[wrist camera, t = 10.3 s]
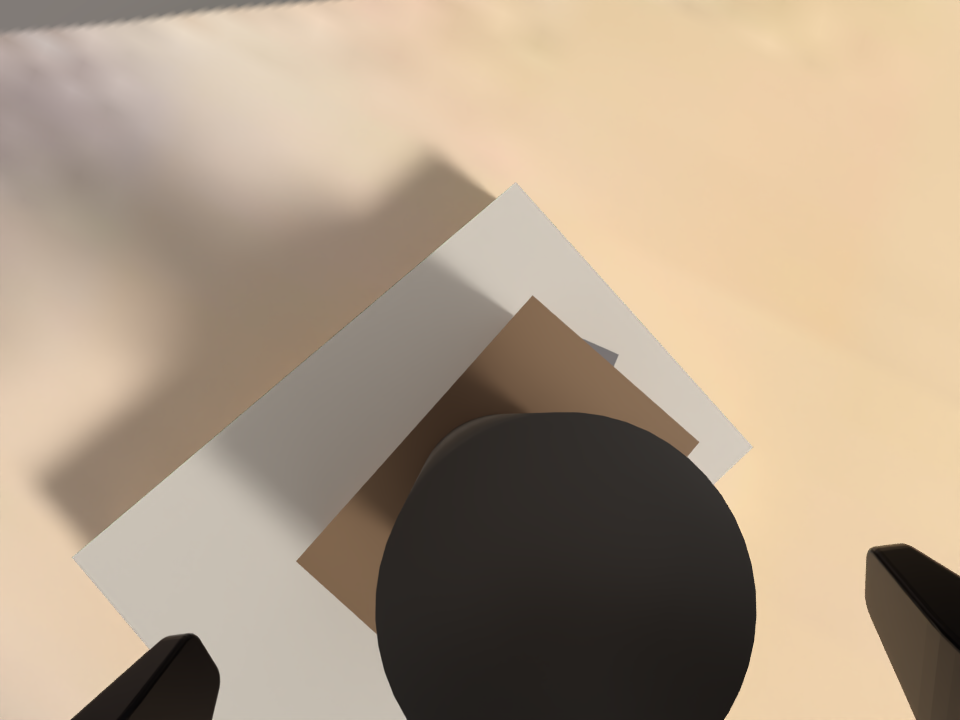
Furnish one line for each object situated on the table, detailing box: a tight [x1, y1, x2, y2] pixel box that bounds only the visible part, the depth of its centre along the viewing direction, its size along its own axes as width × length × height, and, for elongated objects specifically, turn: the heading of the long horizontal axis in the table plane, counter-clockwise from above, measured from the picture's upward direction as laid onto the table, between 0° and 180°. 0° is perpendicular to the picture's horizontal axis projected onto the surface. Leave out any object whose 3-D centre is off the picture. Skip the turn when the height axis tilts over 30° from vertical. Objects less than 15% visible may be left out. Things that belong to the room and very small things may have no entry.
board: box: [72, 182, 753, 720], centre depth 16 cm, size 14×9×2 cm, turn 131°
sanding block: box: [296, 295, 756, 720], centre depth 11 cm, size 7×4×10 cm, turn 139°
